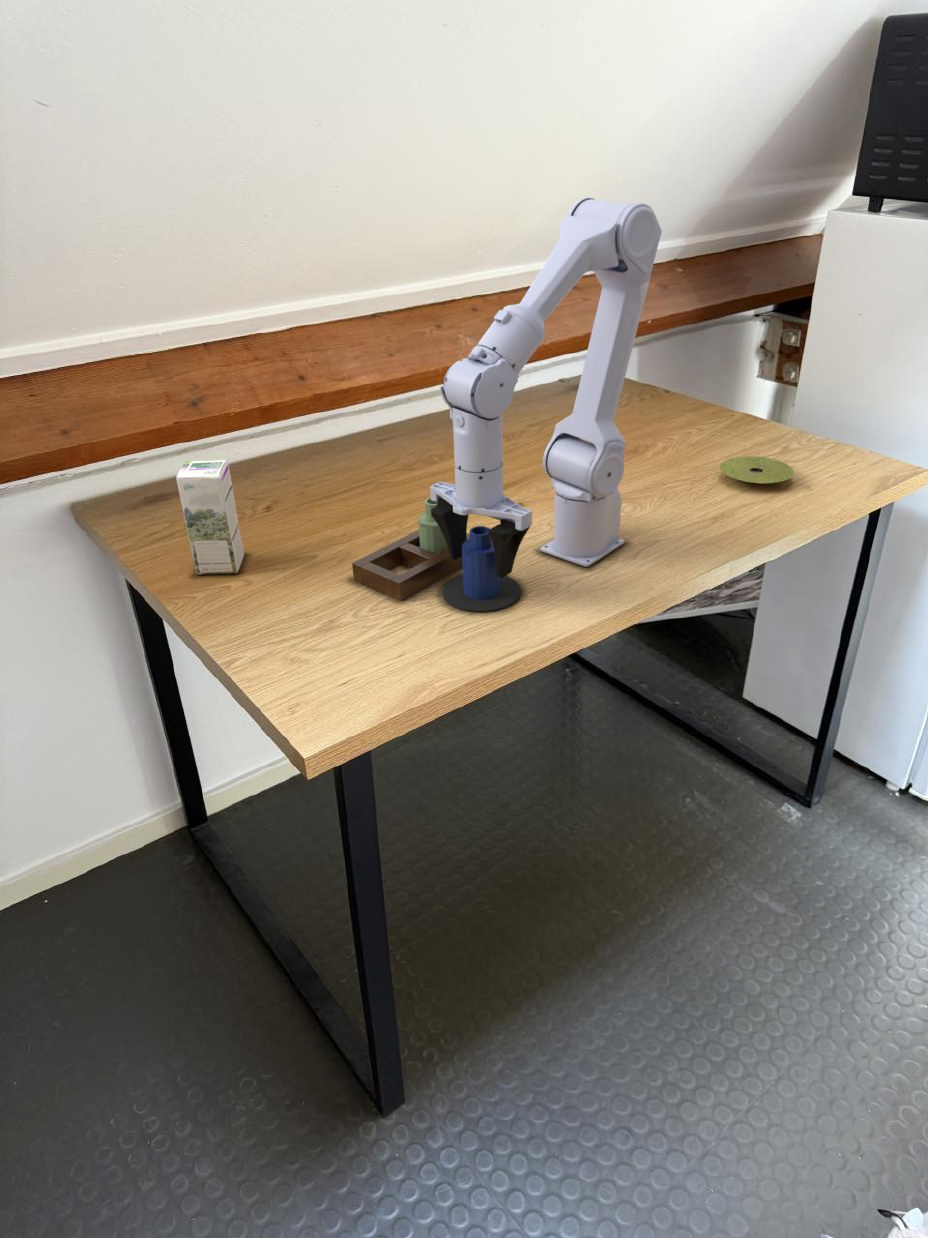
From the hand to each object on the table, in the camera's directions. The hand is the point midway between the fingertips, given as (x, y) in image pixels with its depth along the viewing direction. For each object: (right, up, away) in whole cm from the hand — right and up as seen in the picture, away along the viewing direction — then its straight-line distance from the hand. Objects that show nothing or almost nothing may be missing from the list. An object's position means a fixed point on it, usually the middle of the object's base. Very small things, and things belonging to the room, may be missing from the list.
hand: (481, 565), depth 114 cm
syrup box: (-36, 0, +11) cm, 37 cm away
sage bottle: (-6, +2, +11) cm, 12 cm away
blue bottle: (0, -3, +2) cm, 4 cm away
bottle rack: (-8, 0, +8) cm, 12 cm away
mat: (+44, +15, +30) cm, 56 cm away
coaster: (0, -3, +2) cm, 4 cm away
